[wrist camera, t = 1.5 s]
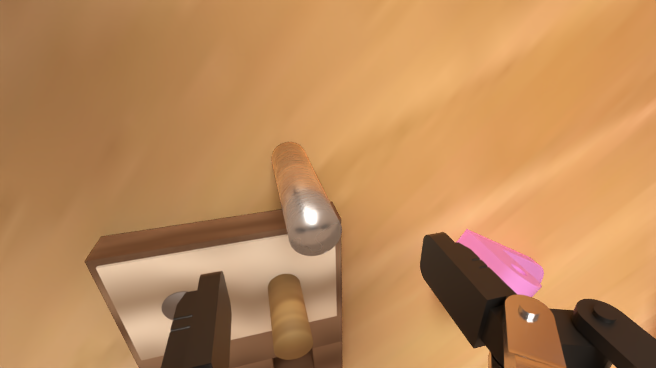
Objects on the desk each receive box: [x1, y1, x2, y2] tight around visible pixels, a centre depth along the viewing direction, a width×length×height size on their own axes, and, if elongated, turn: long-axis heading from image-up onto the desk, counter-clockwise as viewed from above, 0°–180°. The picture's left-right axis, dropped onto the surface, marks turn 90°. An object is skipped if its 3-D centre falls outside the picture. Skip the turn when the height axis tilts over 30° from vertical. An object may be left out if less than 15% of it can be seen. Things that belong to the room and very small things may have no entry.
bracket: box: [456, 229, 544, 297], centre depth 30 cm, size 13×6×7 cm, turn 59°
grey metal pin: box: [271, 142, 342, 256], centre depth 18 cm, size 2×2×9 cm
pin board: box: [85, 202, 342, 368], centre depth 24 cm, size 20×16×8 cm
